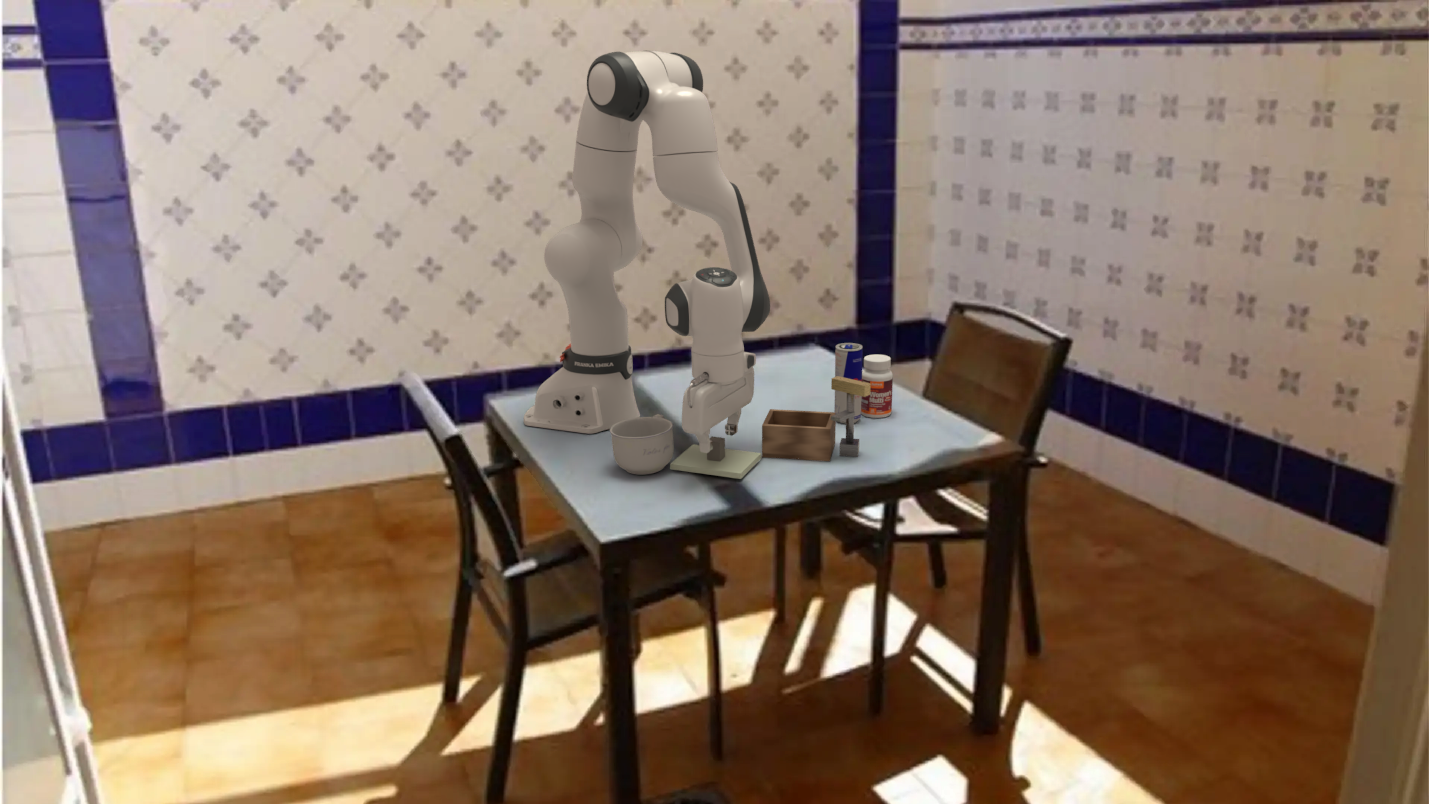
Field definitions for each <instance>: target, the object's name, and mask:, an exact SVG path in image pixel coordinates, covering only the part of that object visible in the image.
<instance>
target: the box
mask: <svg viewBox="0 0 1429 804" xmlns="http://www.w3.org/2000/svg"><path fill="white" fill-rule="evenodd" d="M835 414H836V412H834V411H831V412H830V411H816V410H815V411H812V410H796V409H794V410H793V409H791V410H789V409H775V408H774V409H773V408H771V409H769V410H768V412H767V415H766V416H765V419H764V420H763V423H762V425H761V458H765V459H767V458H768V459H784V460H785V459H786V460H798V461H799V460H800V461H802V460H803V461H820V462H830V461H831V459H832V455H833V452H834V449H835V446H836V427H837V426H836V425H837V421H833V420H831V416H833V415H835Z"/></svg>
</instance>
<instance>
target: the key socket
mask: <svg viewBox="0 0 1429 804" xmlns="http://www.w3.org/2000/svg"><path fill="white" fill-rule="evenodd" d="M839 442H840V443H839V457H850V458H851V457H853V458H858V457H859V454H860V438H854V442H846V437H845V438H843V437H841V439H840V441H839Z"/></svg>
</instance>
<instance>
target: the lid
mask: <svg viewBox="0 0 1429 804" xmlns="http://www.w3.org/2000/svg"><path fill="white" fill-rule="evenodd" d="M709 439H710V441H713V445H712V447H713V449H712V450H711V451H710V452H708V453H703V452H701V451H700V447H699V444H691V446H689V447H688V448H687V449H686V450H685V451H683V452H682V453H681V454H679V455H678V457H676V458H675V459H674V460H673V461H671V462H669V470H674V471H682V472H687V473H688V472H689V473H694V474H695V473H696V474H703V475H711V476H716V477H717V476H718V477H724V478H731V479H739V480H741V479H743V478H744V477H745V476H746V474H747V473H749V471H751V469H752V468H753V467H755V465H756V464H758V462H760V460H762V452H756V451H755V452H754V451H745V450H739V449H730V448H726V438H725V437H722V436H721V437H719V436H711V437H709Z"/></svg>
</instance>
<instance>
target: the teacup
mask: <svg viewBox="0 0 1429 804" xmlns="http://www.w3.org/2000/svg"><path fill="white" fill-rule="evenodd" d="M673 427H674V424H673V422H672V421H671V420H669V419H666V418H665V416H664V415H663V414H658V413H657V414H654V415H653V416H640V417H638V418H631V419H627V420H624V421H621V422H618V423H616V424H614V425H613V426H612V427H611V428H610V429H609V432H610V434H611V435H610V437H611V445H612V452H613V457H614V461H615V462H616V464H617V466H619V468H622V470H625V471H626V473H629V474H632V475H639V476H641V475H651V474H652V475H653V474H654V473H658V472H660V471H661V470H663V469H664V468H665V467H666V465H667V466H668V464H670V463H671V462H672V461H671V460H672V458H673V456H674V450H675V449H674V434H673V433H674V431H673Z"/></svg>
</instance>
